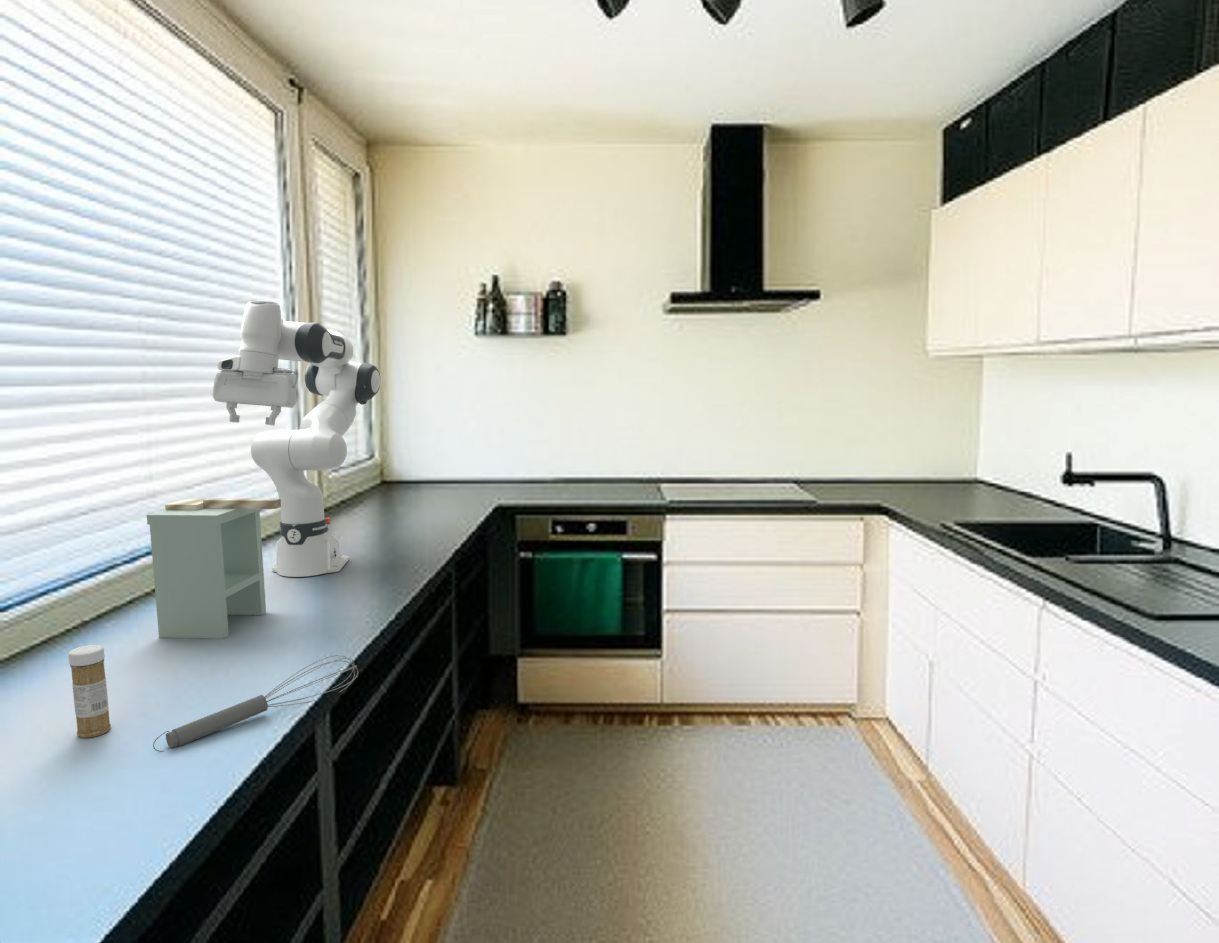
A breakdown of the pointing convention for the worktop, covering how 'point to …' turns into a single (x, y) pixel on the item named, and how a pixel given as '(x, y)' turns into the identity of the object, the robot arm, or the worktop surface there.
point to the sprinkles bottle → (89, 690)
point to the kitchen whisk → (237, 712)
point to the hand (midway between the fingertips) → (252, 423)
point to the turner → (224, 504)
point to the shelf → (206, 569)
